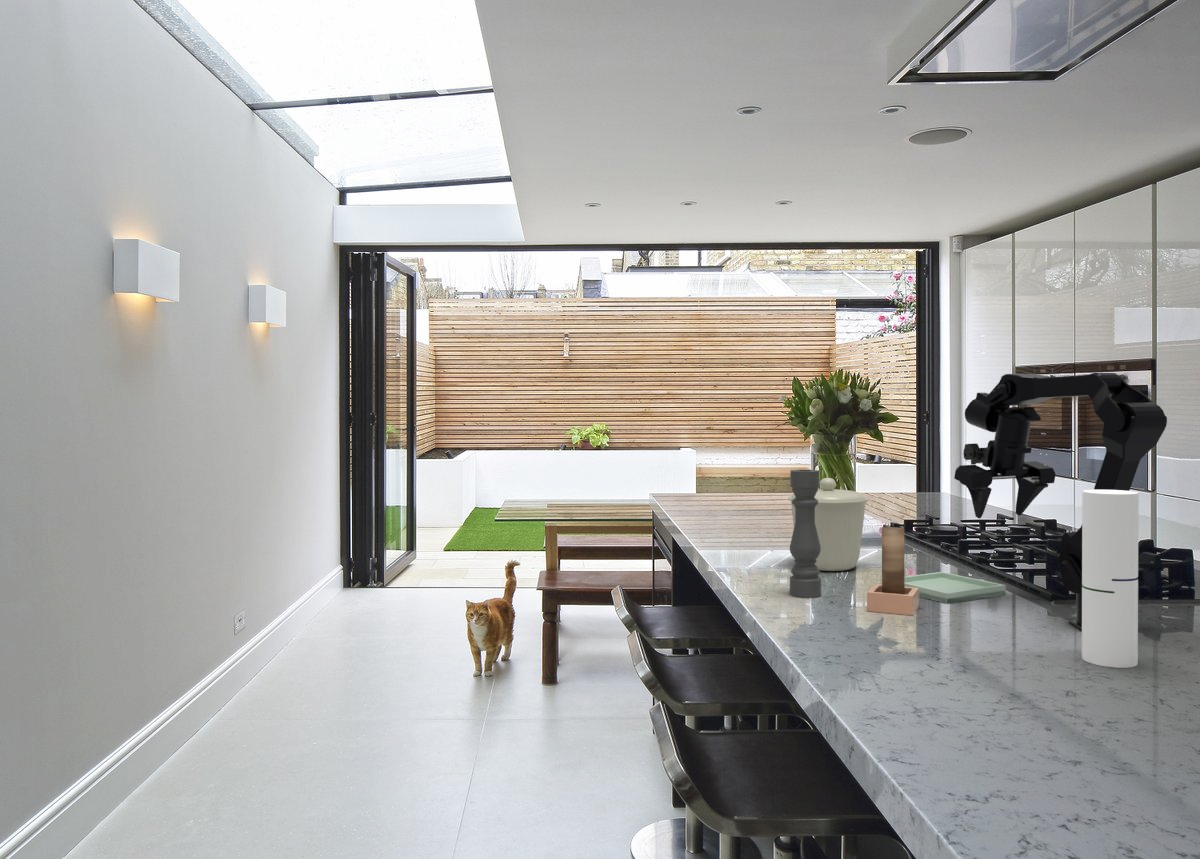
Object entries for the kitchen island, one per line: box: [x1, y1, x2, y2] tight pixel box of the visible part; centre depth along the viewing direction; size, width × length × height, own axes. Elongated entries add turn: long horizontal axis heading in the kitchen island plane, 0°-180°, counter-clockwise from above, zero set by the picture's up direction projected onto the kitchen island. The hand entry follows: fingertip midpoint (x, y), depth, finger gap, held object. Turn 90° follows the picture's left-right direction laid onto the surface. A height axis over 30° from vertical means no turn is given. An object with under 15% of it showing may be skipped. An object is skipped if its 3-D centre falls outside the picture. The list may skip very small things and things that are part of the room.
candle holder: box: [789, 469, 822, 599], centre depth 177 cm, size 6×6×25 cm
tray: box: [905, 571, 1007, 605], centre depth 178 cm, size 16×16×2 cm
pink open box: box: [866, 584, 920, 616], centre depth 164 cm, size 8×8×4 cm
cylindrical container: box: [1081, 489, 1140, 669], centre depth 129 cm, size 7×7×25 cm
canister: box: [787, 477, 869, 572], centre depth 205 cm, size 18×18×21 cm
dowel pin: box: [881, 526, 905, 594], centre depth 164 cm, size 4×4×15 cm
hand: (998, 516), depth 171 cm, fingers open, 9 cm apart
